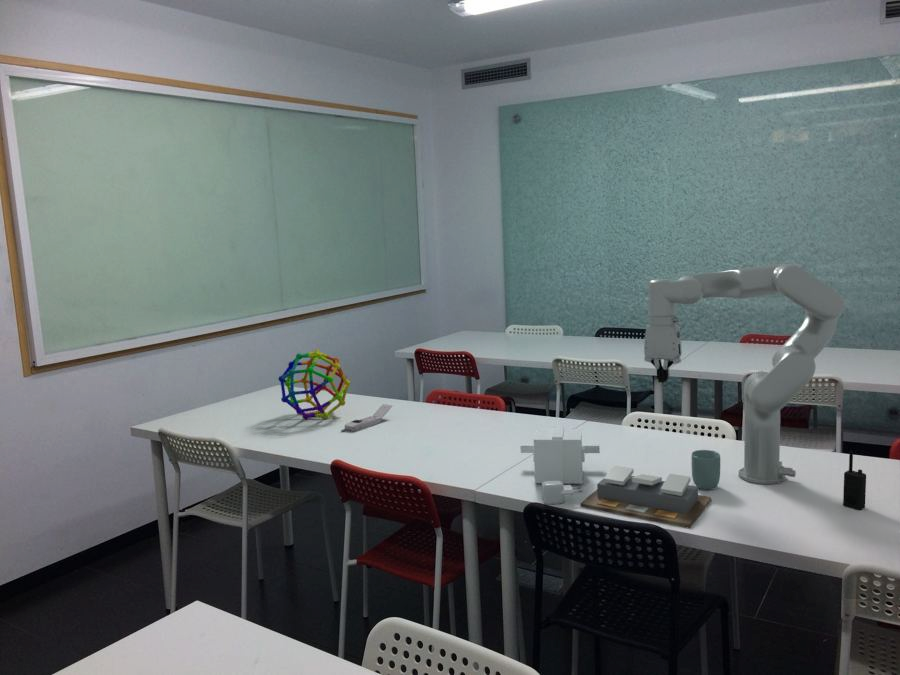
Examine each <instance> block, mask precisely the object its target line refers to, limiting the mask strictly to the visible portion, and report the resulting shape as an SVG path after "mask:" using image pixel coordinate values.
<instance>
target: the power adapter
mask: <svg viewBox="0 0 900 675" xmlns="http://www.w3.org/2000/svg"><path fill="white" fill-rule="evenodd" d="M576 493H578V494H579V493H584V490H583V489H582V486H572V485H571V484H564V485H563V484H562V482H561V481H544V482H542V483H541V497H542V498H541V499H542V501H543V503H544V504H545V505H560V504H561V503H562V504H564V501H565V496H574V494H576Z"/></svg>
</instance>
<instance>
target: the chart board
mask: <svg viewBox="0 0 900 675" xmlns="http://www.w3.org/2000/svg"><path fill="white" fill-rule="evenodd" d="M712 499H713V498H712V496H707V495H701V494H698V501H697V503H696V504H695V505H694V506H693V507H692V509H691V510H690V511H689V512H688V514H685V513H680V512H674V511H669V510H663V509H658V508H652V507H647V506H642V505H636V504H631V503H625V502H620V501H615V500H609V499H604V498H598V495H597V489H596V490H594V491H593V492H592V493H591V494H590V495H589V496H587V497H586V498H585V499H584V500H582V502H580V506H582V507H581V508H585V509H590V510H595V511H596V510H597V511H601V512H605V513H611V514H617V515H621V516H624V517H625V516H627V517H632V518H635V519H641V520H646V521H647V520H648V521H651V522H652V521H653V522H657V523H662V524H668V525H673V526H677V527H682V528H687V527H688V529H691V528H692V527H693V525H694V524H695V523H696V521H697V520H698V518H700V516H701V515H702V513H704V511H705V510H706V508H707V507H708V505H709V504H710V503H711V502H712ZM580 506H579V507H580Z"/></svg>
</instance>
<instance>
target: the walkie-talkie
mask: <svg viewBox="0 0 900 675" xmlns="http://www.w3.org/2000/svg"><path fill="white" fill-rule="evenodd" d="M848 457H849V458H848V470H846V471H845V472H844V473H843V494H842V497H843V498H842V499H843V500H842V502H843V503H842V505H843V507H845V508H850V509H854V510H856V511H861V510H864V509H865V508H866V493H867V492H866V490H867V487H866V486H867V474H866V473H863V470H862V469H860V468H859V469H857V471H856V470H853V463H854V462H853V461H854V460H853V459H854V451H853V450H849V456H848Z"/></svg>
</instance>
